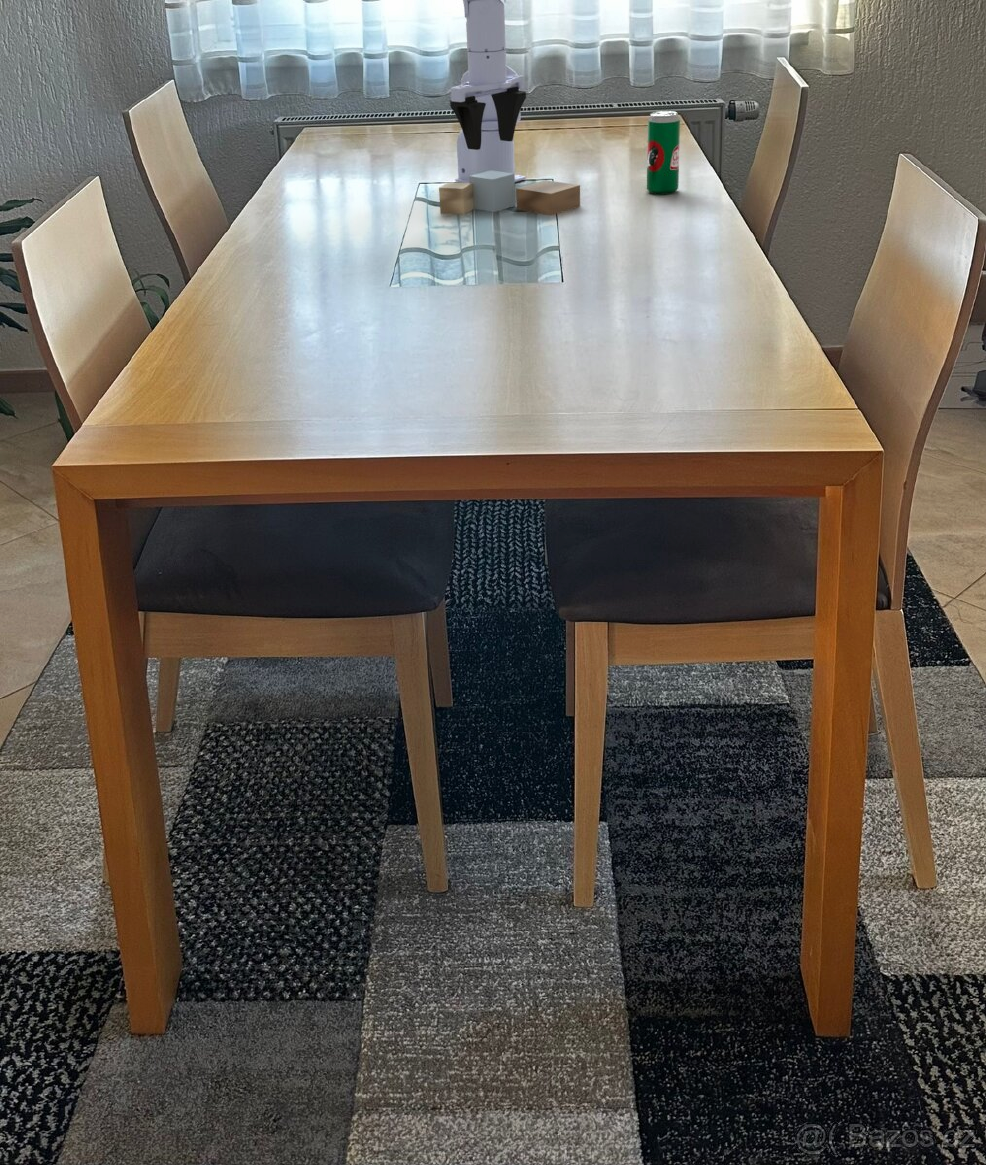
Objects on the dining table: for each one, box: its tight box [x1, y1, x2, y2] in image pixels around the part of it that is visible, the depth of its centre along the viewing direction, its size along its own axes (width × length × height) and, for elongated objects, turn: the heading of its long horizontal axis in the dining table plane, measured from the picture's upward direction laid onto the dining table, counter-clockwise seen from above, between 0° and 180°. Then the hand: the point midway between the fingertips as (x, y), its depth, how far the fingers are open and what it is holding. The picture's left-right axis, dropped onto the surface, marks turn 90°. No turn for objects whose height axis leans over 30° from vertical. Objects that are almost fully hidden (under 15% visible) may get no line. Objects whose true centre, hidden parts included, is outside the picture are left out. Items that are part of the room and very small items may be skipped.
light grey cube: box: [469, 170, 516, 213], centre depth 201 cm, size 5×5×5 cm
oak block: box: [438, 181, 475, 216], centre depth 200 cm, size 4×4×4 cm
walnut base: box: [515, 179, 581, 216], centre depth 200 cm, size 7×7×4 cm
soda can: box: [646, 110, 681, 196], centre depth 204 cm, size 5×5×12 cm
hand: (490, 144), depth 198 cm, fingers open, 7 cm apart
